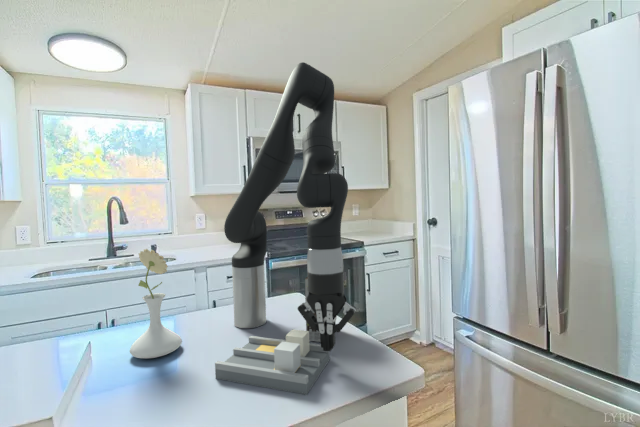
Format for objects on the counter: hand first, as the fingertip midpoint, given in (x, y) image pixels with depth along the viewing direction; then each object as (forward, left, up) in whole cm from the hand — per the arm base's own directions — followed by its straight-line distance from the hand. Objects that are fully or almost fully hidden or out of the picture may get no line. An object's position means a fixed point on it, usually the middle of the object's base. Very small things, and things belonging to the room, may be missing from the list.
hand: (328, 349), depth 71 cm
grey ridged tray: (-7, -9, -4) cm, 12 cm away
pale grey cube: (-2, -9, -2) cm, 9 cm away
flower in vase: (-34, -26, -4) cm, 43 cm away
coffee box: (-14, +10, -4) cm, 18 cm away
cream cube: (-6, -4, -2) cm, 7 cm away
